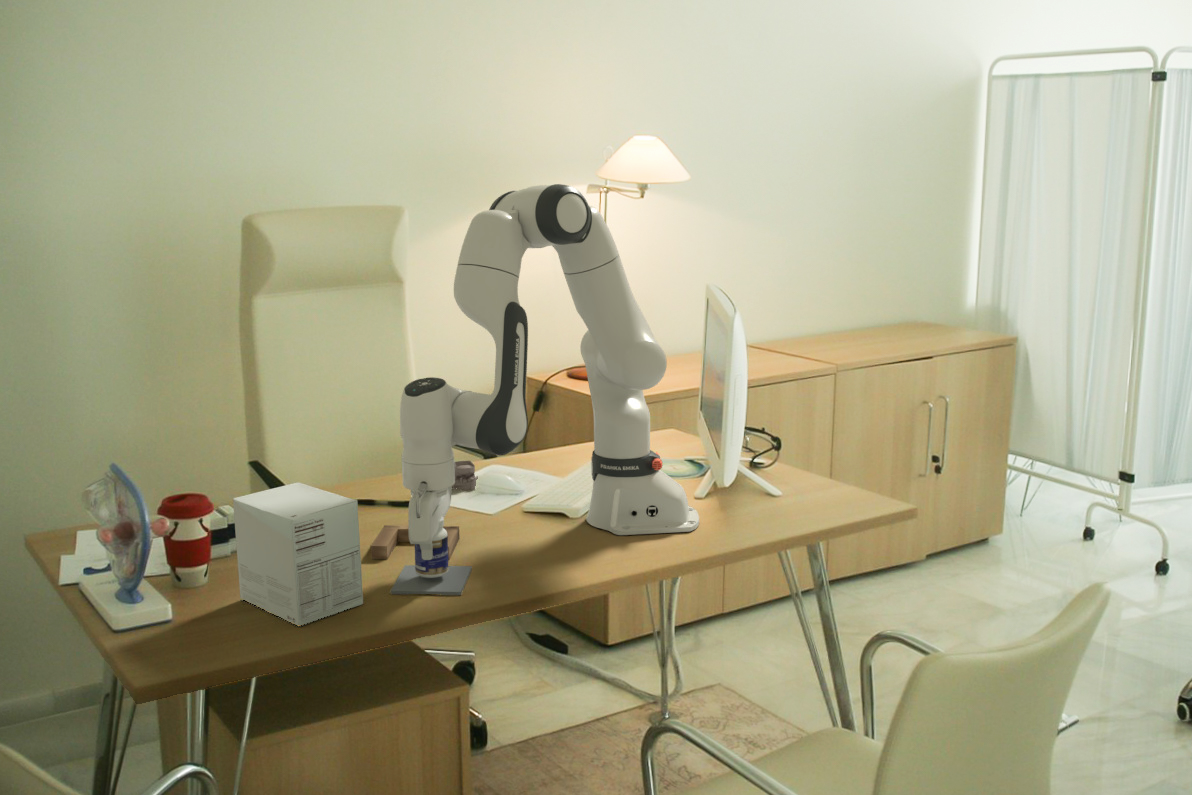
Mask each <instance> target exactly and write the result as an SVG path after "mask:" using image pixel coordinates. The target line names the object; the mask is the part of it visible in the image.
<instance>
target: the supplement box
mask: <svg viewBox="0 0 1192 795" xmlns="http://www.w3.org/2000/svg"><path fill="white" fill-rule="evenodd" d="M232 504H233V505H232V506H233V507H232V508H233V517H234V530H235V545H236V547H235V548H236V556H237V557H236V558H237V571H238V572H237V573H238V585H239V596H240V598H241V599H244V600H246V601H248V602H250V603H252V604H254V605H257V606H259V607H260V608H263V609H265V610H266V611H269V612H271V613H273V614H275V615H277V616H279V617H281V618H283V619H285V620H287V621H289V622H292V623H294V624H296V625H302V626H304V625H303V624H305V625H308V624H311V623H313V621H314V622H317V621H319V620H321V618H322V619H324V617H325V618H328V617H330V615H331V616H333V615H336V614H339V613H342V612H344V610H345V611H348V610H350V608H351V609H353V608H356V607H358V606H362V605H363V604H364V595H363V594H364V593H363V592H364V590H363V575H362V574H363V573H362V557H361V556H362V554H361V541H360V523H359V509H358V508H359V507H358V505H359V504H358V500H357V499H353V498H350V497H346V496H344V495H343V496H342V495H341V494H337V493H333V492H331V491H327V490H324V489H321V488H319V487H318V488H317V487H314V486H311V485H309V484H305V483H302V482H299V481H298V482H294V483H290V484H285V485H282V486H278V487H274V488H270V489H265V490H262V491H257V492H252V493H250V494H246V495H242V496H238V497H233V499H232ZM250 603H249V604H250ZM252 604H251V605H252ZM254 605H253V606H254ZM260 608H259V609H260ZM347 609H348V610H347ZM266 611H265V612H266ZM338 612H339V613H338ZM327 616H328V617H327ZM279 617H278V618H279ZM281 618H280V619H281ZM283 619H282V620H283ZM318 619H319V620H318ZM285 620H284V621H285ZM287 621H286V622H287ZM289 622H288V623H289ZM310 622H311V623H310ZM307 623H308V624H307Z"/></svg>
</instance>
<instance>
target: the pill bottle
mask: <svg viewBox="0 0 1192 795" xmlns="http://www.w3.org/2000/svg"><path fill="white" fill-rule="evenodd" d="M443 526H445V517H444V518H443V517H442V518H441V519H440V521H439V528H438V530H437V532H436V534H435V536H434V537H433V540H432V547H433V550H434V552H433V553H434V555H433V557H432V559H431V560H423V559H422V552H421V548H420V545H419V544H414V565H415V571H416V573H417V575H419V576H421V577H425V578H436V577H440V576H443V575H445V574H446V573H447V572H448V570H449V568H448V567H449V566H450V565H449V560H448V535H447V531H446V530H445V529H444V528H443Z"/></svg>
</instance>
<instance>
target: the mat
mask: <svg viewBox="0 0 1192 795" xmlns="http://www.w3.org/2000/svg"><path fill="white" fill-rule="evenodd" d="M448 566H449V567H448V568H449V570H448V572H447V573H446V574H445V575H443V576H440V577H436V578H425V577H421V576H419V575H417V573H416V571H415V564H414V565H413V564H412V565H411V564H409V565H408V564H406V565H404V566H403V568H402V570H401V571H400V574H399V575H398V577H397V579H396V580H395V582H394V583H393V585H392V587H391V589H390V595H410V594H438V595H437V596H462V594H463V592H462V591H464V589H465V587H464V586H466V585H465V584H467V582H468V579H469V577H470V575H471V572H472V569H473V567H472V565H448ZM391 593H392V594H391ZM440 594H441V595H440Z"/></svg>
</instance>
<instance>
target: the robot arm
mask: <svg viewBox="0 0 1192 795" xmlns="http://www.w3.org/2000/svg"><path fill="white" fill-rule="evenodd" d="M550 246H551V247H552V248H553V249H554V250H555V252H556V253H557V255H558V259H559V263H560V267H561V269H562V272H563V275H564V277H565V280H566V284H567V286H568V289H569V293H570V295H571V298H572V301H573V305H574V306H575V310H576V312H577V314H579V316H580V318H581V319H582V321H583V323H584V324H585V326H586V328H587V331H586V332H585V333H584V335H583V336H582V339H581V341H580V355H581V358H582V360H583V362H584V366H585V369H586V370H585V371H586V375H587V376H586V377H587V382H588V390H589V394H590V397H591V404H592V410H593V411H592V412H593V440H594V441H593V447H594V450H592V454H591V462H590V464H591V466H590V467H591V468H590V469H591V477H592V481H593V482H592V488H591V489H592V490H591V496H590V497H591V498H590V504H589V509H588V513H587V515H586V518H585V519H586V522H587V523H588V524H589V525H591V526H592V527H594V528H598V529H601V530H604V531H609V532H611V533H612V534H614V535H616V536H628V535H632V536H634V535H648V534H649V535H650V534H651V535H652V534H663V533H664V534H666V533H667V534H668V533H669V534H670V533H686V532H692V531H694V530H696V529H697V528H698V527H699V524H700V515H699V513H698V511H697V509H695V508H694V507H692V506H689V500H688V497H687V494H686V491H685V489H684V487H683V485H681V484H680V483H679V482H677V480H675V479H674V478H672V477H670V475H668V474H666V473H665V472H664V471H662V470H661V469H662V468H663V461H662V459H661V456H660V454H659V453H658V451H656V452H654V451H653V450H651V414H650V410H649V407H648V404H647V402H646V399H645V394H644V391H645V390H649V389H651V388H653V387H655V386H657V385H658V384H659V383H660V382H661V381H662V380H663V378H664V376H665V373H666V370H667V365H668V363H667V357H666V352H664V350H663V348H662V347H661V345H660V344H659V343H658V341H657V339H656V337H655V335H654V333H653V332H652V330H651V327H650V325H649V323H648V321H647V319H646V317H645V316H644V314H643V311H642V310H641V308H640V306H639V305H638V303H637V300H636V298H635V297H634V295H633V292H632V289H631V287H630V284H629V281H628V278H627V274H626V272H625V269H624V266H623V265H624V264H623V262H622V260H621V256H620V253H619V250H618V248H617V245H616V242H615V239H614V237H613V235H612V232H611V231H610V228H609V227H608V225H607V222H606V221H605V219H604V217H603V216H602V214H601V212H600V211H599V210H598V209H597V208H596V207H594V206H592V205H589V203H588V201H587V200H586V198H585V196H584V195H583V193H581V192H580V191H579V190H578V189H577V188H574V187H573V186H570V185H566V184H561V183H558V184H551V185H550V184H549V185H548V184H544V185H543V184H542V185H541V184H540V185H531V186H528V187H526V188H522V189H519V190H512V191H511V190H510V191H508V192H505V193H503V194H501V195H500V196H499V197H497V198H496V199H495V200H494V201H493V202H492V204H491V205H490V206H489V209H487V210H483V211H481V212H479V213H477V214H476V215H475V216H474V217H473V218H472V220H471V222H470V223H469V226H468V229H467V231H466V234H465V236H464V240H463V243H462V246H461V250H460V252H459V257H458V262H457V265H456V266H457V267H456V270H455V275H454V281H453V298H454V299H455V302H456V305H457V306H458V308H459V309H460V311H461V312H462V313H463V314H464V315H465V316H466V317H467V318H468V319H469V320H471V321H473V322H474V323H476V324H478V325H479V326H481V327H482V328H483V329H485V331H487V332H488V333H489V334H490V335H491V337H492V338H493V341H494V344H495V364H494V365H495V366H494V368H495V369H494V384H493V385H494V386H493V387H494V388H493V390H492V392H491V394H489V393H482V392H475V391H472V390H467V389H466V390H465V389H460V388H456V387H454V386H451V385H450V384H448V383H447V381H446V380H445V379H443V378H440V377H433V376H430V377H429V376H428V377H423V378H418V379H416V380H413V381H411V382H409V383H408V384H406V385H405V386H404V388H403V389H402V394H401V397H400V405H399V406H400V407H399V430H400V432H399V433H400V437H401V440H402V445H403V446H402V447H403V448H402V453H401V469H402V470H401V471H402V472H401V473H402V474H401V475H402V476H401V477H402V486H403V487H404V488H405V489H408V490H410V496H411V497H410V499H409V503H408V510H407V511H408V512H407V513H408V516H407V517H408V524H407V526H408V528H409V540H410V542H409V543H410V544H411V545H415V544H419V545H420V548H421V552H422V559H423V560H431V559H432V557H433V555H434V553H433V552H434V550H433V547H432V540H433V537H434V536H435V534H436V532H437V530H438V528H439V521H440V519H441V518H442V517H443V518H444V519H445V517H446V515H447V513H448V511H449V510H450V507H451V503H452V502H451V501H452V490H453V488H452V485H454V483H455V462H456V460H455V454H454V450H453V447H454V446H456V445H457V446H459V447H463V448H464V447H466V448H470V449H476V450H477V449H478V450H481V451H483V452H487V453H490V454H492V455H493V454H494V455H495V456H496V455H497V456H505V455H507V454H509V453H511V452H512V451H514V450H516V448H518V447H519V445H521V443H523V441H524V440H525V438H526V436H527V433H528V424H529V421H528V409H527V403H526V402H527V401H526V400H527V398H526V397H527V396H526V394H527V393H526V391H527V375H528V373H527V370H528V347H529V343H528V341H529V325H528V324H529V321H528V316H527V313H526V310H525V309H524V307H523V306H521V304H520V300H519V292H518V290H519V289H518V287H519V279H520V275H521V274H520V273H521V266H522V261H523V257H524V254H525V252H527V251H528V249H543V248H546V247H550Z"/></svg>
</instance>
